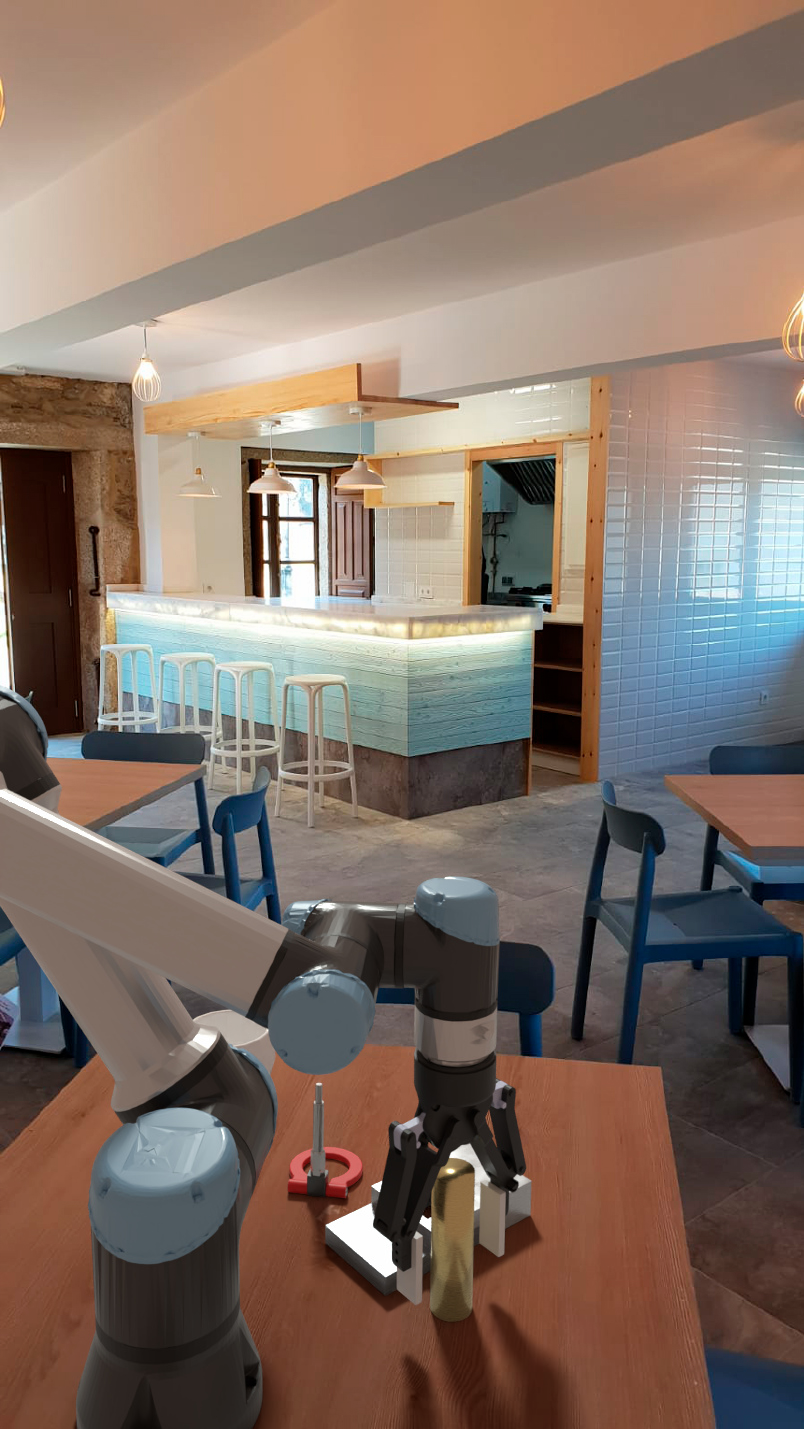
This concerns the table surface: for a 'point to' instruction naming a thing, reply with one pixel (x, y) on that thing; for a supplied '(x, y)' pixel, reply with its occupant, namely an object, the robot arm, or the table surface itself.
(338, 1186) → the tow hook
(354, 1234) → the square hole base
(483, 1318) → the table surface
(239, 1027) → the cup
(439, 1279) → the pin
